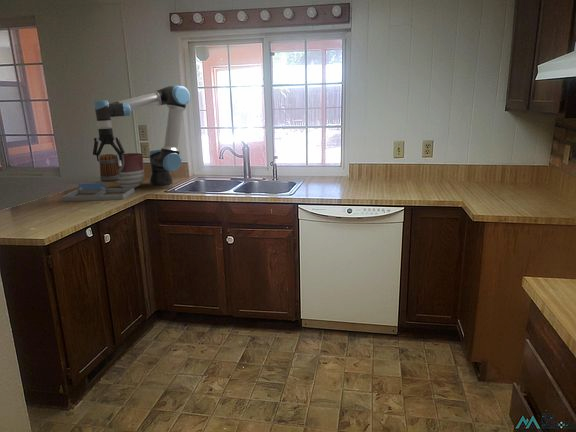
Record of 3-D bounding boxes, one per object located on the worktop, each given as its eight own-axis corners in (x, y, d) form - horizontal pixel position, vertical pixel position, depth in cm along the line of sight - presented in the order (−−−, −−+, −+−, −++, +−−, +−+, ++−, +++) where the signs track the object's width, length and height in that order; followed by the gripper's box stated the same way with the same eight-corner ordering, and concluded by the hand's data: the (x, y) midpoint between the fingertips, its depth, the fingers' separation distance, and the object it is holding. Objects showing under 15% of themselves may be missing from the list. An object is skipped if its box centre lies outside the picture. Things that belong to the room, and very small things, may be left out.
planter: (134, 191, 266) (130, 157, 261) (108, 190, 272) (103, 156, 266) (152, 185, 284) (148, 153, 279) (127, 184, 290) (123, 153, 284)
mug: (107, 183, 245) (103, 157, 240) (97, 180, 251) (93, 155, 247) (130, 178, 257) (128, 153, 252) (120, 176, 263) (117, 152, 259)
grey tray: (135, 191, 267) (133, 182, 265) (123, 199, 246) (122, 189, 244) (78, 193, 266) (77, 183, 264) (62, 201, 245) (60, 190, 243)
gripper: (127, 126, 249) (132, 164, 255) (87, 128, 248) (93, 165, 255) (122, 127, 242) (128, 166, 248) (82, 129, 241) (88, 168, 247)
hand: (110, 166), depth 251 cm, fingers closed on mug, 10 cm apart
